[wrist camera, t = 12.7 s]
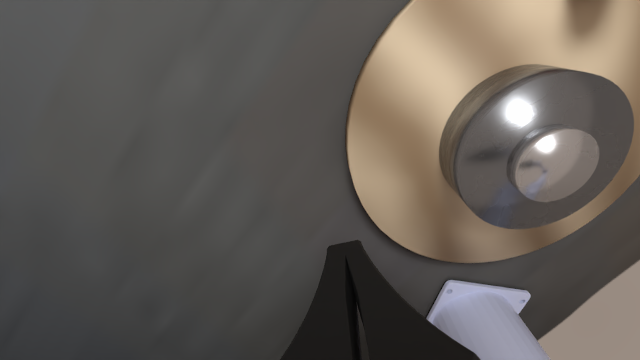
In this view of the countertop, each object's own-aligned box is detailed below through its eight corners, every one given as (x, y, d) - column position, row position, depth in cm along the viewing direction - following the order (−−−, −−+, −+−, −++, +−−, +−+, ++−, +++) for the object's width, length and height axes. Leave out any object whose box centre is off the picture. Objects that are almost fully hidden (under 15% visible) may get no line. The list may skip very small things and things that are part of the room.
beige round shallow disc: (426, 287, 27) (447, 333, 23) (282, 92, 19) (276, 111, 15) (679, 161, 22) (761, 192, 18) (628, -163, 14) (752, -235, 10)
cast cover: (472, 225, 22) (504, 264, 19) (413, 126, 19) (438, 150, 15) (602, 154, 20) (666, 183, 16) (562, 28, 17) (634, 30, 13)
